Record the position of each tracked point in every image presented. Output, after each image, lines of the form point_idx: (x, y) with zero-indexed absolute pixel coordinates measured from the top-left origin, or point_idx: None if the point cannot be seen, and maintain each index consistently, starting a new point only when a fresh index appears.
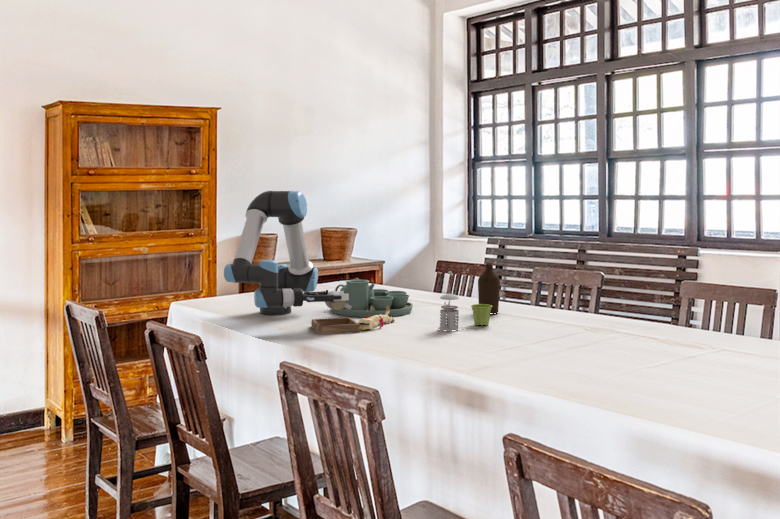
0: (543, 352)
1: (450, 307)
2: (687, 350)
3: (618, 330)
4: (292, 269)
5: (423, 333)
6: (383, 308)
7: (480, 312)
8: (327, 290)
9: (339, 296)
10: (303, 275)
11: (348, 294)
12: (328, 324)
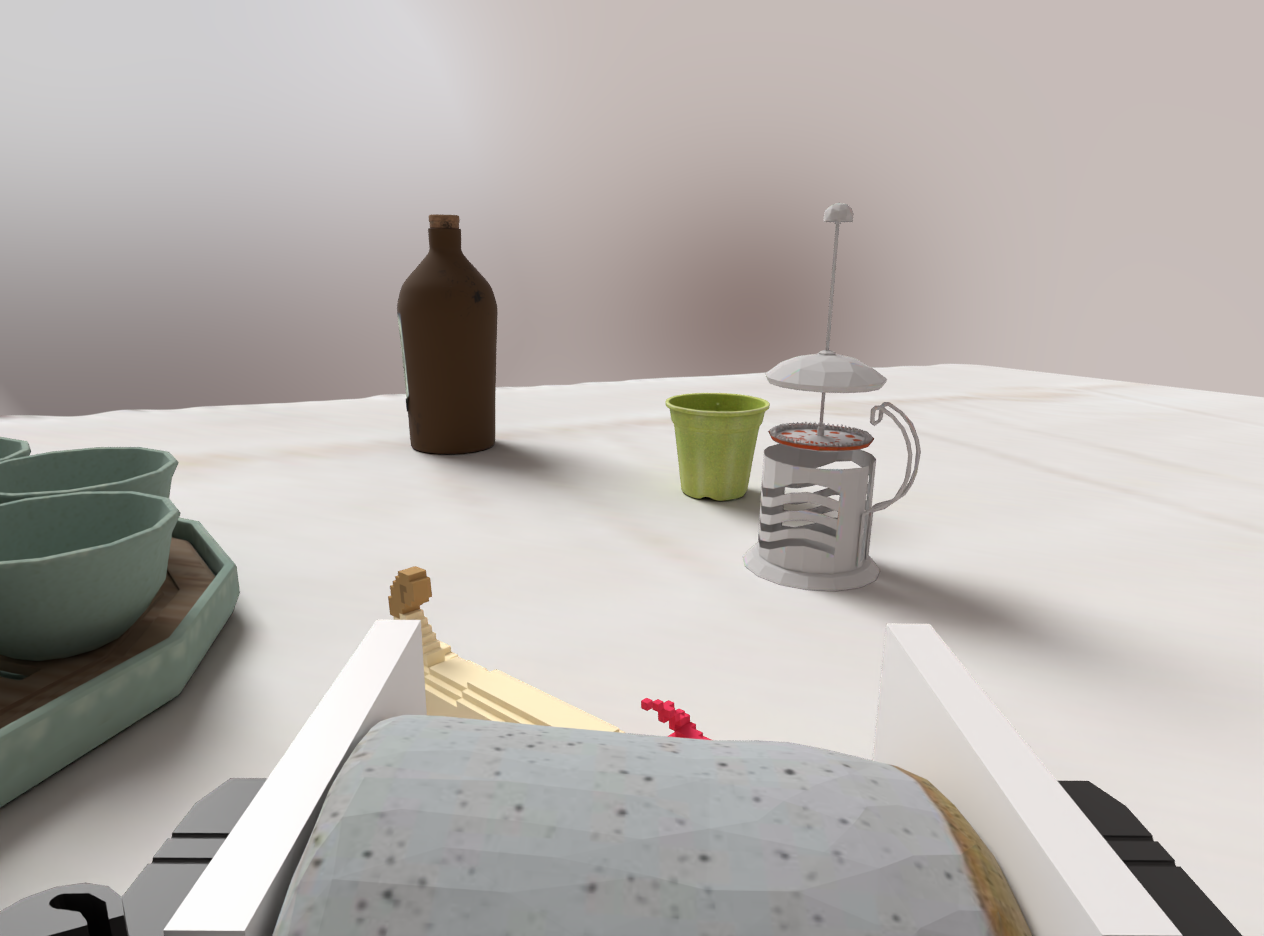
0: None
1: (826, 436)
2: (1114, 403)
3: (858, 399)
4: None
5: None
6: (138, 612)
7: (754, 433)
8: (118, 927)
9: (1140, 838)
10: None
11: (929, 640)
12: None
